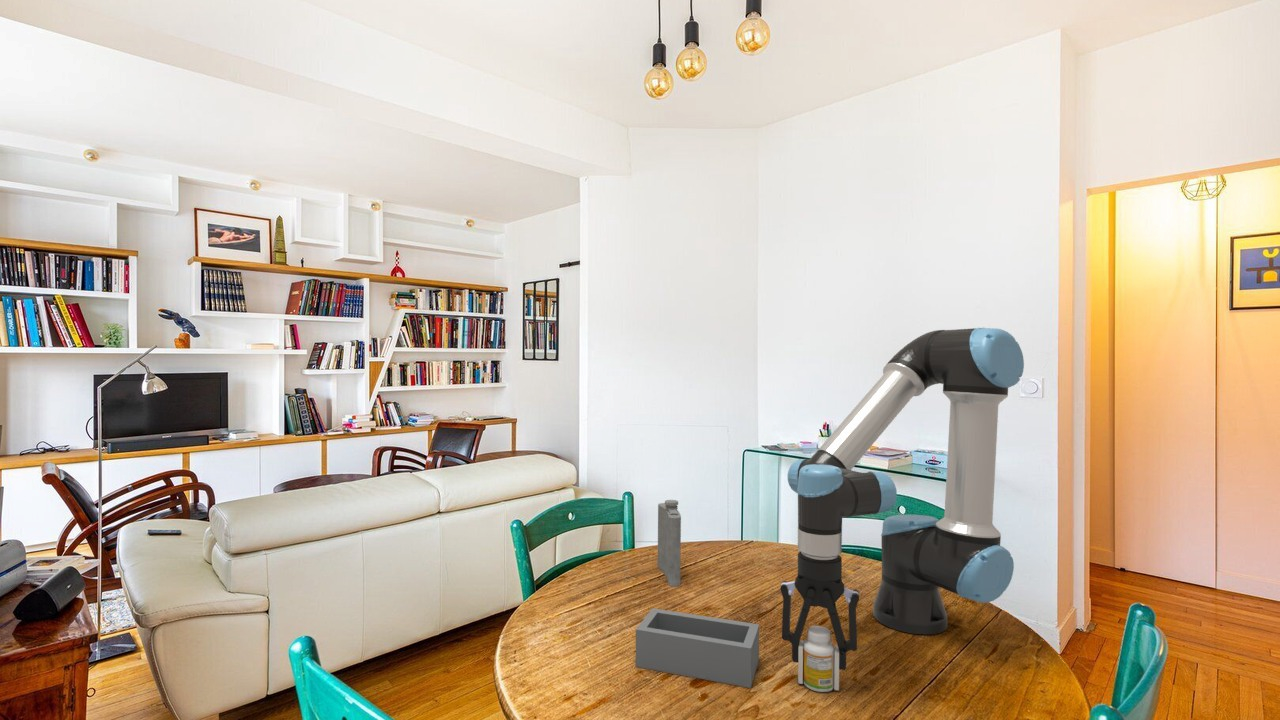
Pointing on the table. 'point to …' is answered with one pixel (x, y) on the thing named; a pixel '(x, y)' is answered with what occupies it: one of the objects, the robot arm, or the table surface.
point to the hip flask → (669, 541)
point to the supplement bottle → (818, 660)
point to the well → (698, 647)
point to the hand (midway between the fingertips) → (818, 682)
